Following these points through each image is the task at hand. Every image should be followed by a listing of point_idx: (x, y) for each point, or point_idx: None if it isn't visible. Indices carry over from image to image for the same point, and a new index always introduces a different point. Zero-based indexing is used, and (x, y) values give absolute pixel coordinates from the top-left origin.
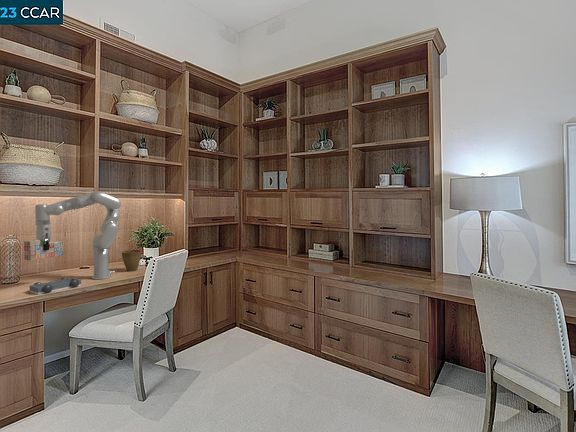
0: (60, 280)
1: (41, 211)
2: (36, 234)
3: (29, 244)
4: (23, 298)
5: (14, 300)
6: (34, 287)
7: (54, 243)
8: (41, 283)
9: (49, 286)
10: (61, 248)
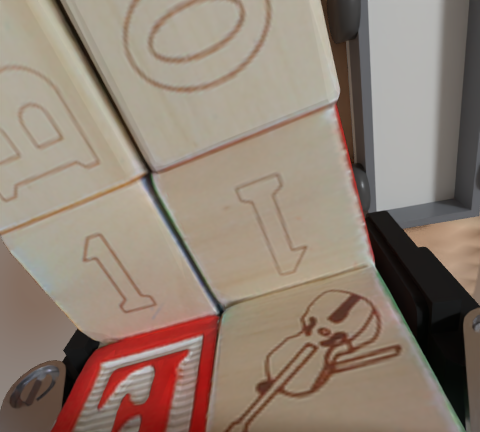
0: (369, 48)
1: None
2: None
3: None
4: (468, 259)
5: (467, 287)
6: (429, 222)
7: (337, 84)
8: (366, 176)
9: None
10: None
